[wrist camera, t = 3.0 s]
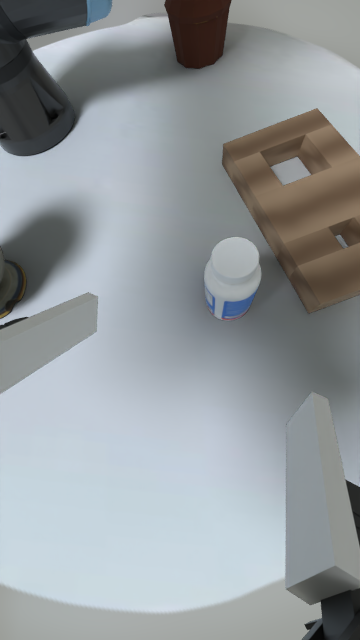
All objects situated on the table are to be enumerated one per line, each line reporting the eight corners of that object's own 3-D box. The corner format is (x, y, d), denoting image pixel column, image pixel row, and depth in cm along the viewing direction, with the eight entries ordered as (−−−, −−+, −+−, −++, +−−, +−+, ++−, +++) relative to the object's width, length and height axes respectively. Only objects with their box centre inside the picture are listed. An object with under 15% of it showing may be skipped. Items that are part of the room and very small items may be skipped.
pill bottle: (257, 291, 28) (280, 242, 19) (239, 329, 27) (255, 296, 18) (216, 275, 29) (220, 221, 20) (197, 310, 28) (192, 271, 19)
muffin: (238, 61, 42) (246, -36, 32) (180, 80, 42) (172, -10, 32) (217, 29, 45) (220, -67, 36) (164, 46, 46) (153, -44, 36)
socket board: (222, 164, 35) (223, 144, 32) (308, 131, 35) (317, 108, 32) (308, 313, 26) (320, 304, 24) (422, 271, 26) (448, 256, 23)
